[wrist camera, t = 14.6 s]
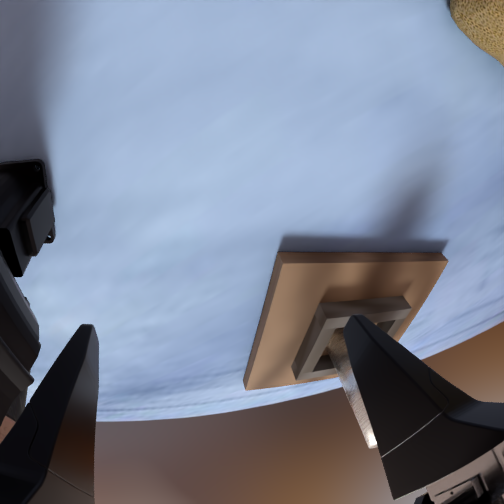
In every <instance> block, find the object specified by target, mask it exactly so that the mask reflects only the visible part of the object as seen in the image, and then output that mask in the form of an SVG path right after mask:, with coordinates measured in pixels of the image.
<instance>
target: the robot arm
mask: <svg viewBox="0 0 504 504" xmlns="http://www.w3.org/2000/svg"><path fill="white" fill-rule="evenodd" d="M35 165H38V166H39V168H40V169H39V170H38V169H37V168H36V167H35ZM54 222H55V217H54V212H53V205H52V199H51V192H50V190H49V189H48V188H47V181H46V173H45V165H44V162H43V161H42V160H40V159H34V160H22V161H12V162H3V163H0V427H1V425H2V422H3V420H4V418H5V416H6V413H7V411H8V409H9V407H10V406H11V404H12V402H13V401H14V400H15V398H16V397H17V396H18V395H19V394H20V393H21V391H23V390H24V389H26V388H27V387H28V386H30V385H31V384H32V383H33V382H34V378H33V377H32V376H31V375H30V374H29V371H30V369H31V367H32V366H33V364H34V362H35V360H36V359H37V357H38V354H39V351H40V348H41V344H40V342H39V325H38V323H37V320H36V318H35V315H34V314H33V312H32V310H31V308H30V303H29V302H28V300H27V298H26V297H24V295H23V293H22V292H21V290H20V288H19V286H18V284H17V282H16V280H15V278H14V277H22V276H23V274H24V272H25V270H26V268H27V266H28V264H29V261H30V259H31V257H32V256H37V254H38V253H39V251H40V249H41V247H42V245H43V243H52V242H53V241H54V239H55V230H54V225H53V224H54ZM47 235H49V236H51V238H50V237H48V236H47ZM343 335H344V339H345V343H346V347H347V351H348V356H349V360H350V364H351V368H352V371H353V374H354V377H355V380H356V383H357V385H358V388H359V391H360V394H361V397H362V400H363V403H364V406H365V409H366V412H367V415H368V418H369V421H370V424H371V427H372V430H373V433H374V437H375V440H376V443H377V446H378V449H379V453H380V455H381V457H382V458H381V459H382V462H383V466H384V469H385V473H386V476H387V480H388V483H389V486H390V490H391V493H392V497H393V499H394V500H396V499H398V498H401V497H403V496H406V495H408V494H410V493H413V492H415V491H417V490H419V489H422V488H424V487H426V489H427V492H426V493H425V494H423V495H421V496H420V497H418V498H416V500H415V503H414V504H504V403H493V402H481V401H478V400H475V399H474V398H472V397H470V396H469V395H467V394H466V393H464V392H463V391H461V390H460V389H458V388H456V387H455V386H454V385H452V384H451V383H450V382H448V381H447V380H445V379H444V378H442V377H441V376H440V375H439V374H437V373H436V372H435V371H434V370H432V369H431V368H430V367H428V366H427V365H426V364H425V363H424V362H422V361H421V360H420V359H419V358H417V357H416V356H415V355H414V354H412V353H411V352H410V351H408V350H407V349H406V348H405V347H403V346H402V345H401V344H400V343H398V342H397V341H396V340H395V339H393V338H392V337H391V336H389V335H388V334H387V333H386V332H384V331H383V330H382V329H381V328H379V327H378V326H377V325H375V324H374V323H373V322H372V321H370V320H369V319H368V318H366V317H365V316H364V315H362V314H353V315H351V316H350V318H349V320H348V321H347V323H346V325H345V327H344V330H343ZM98 390H99V341H98V337H97V334H96V331H95V328H94V326H93V325H92V324H82V325H80V327H79V328H78V329H77V331H76V332H75V334H74V335H73V336H72V338H71V339H70V341H69V342H68V343H67V345H66V346H65V348H64V349H63V350H62V352H61V353H60V355H59V356H58V358H57V359H56V361H55V362H54V364H53V365H52V367H51V368H50V370H49V371H48V373H47V374H46V376H45V377H44V379H43V380H42V382H41V383H40V385H39V386H38V388H37V390H36V391H35V393H34V394H33V396H32V397H31V399H30V403H28V404H27V405H26V407H25V409H24V410H23V412H22V413H21V415H20V417H19V418H18V420H17V421H16V423H15V424H14V426H13V427H12V428H11V430H10V431H9V433H8V434H7V435H6V437H5V438H4V439H3V441H2V442H1V443H0V504H95V502H94V448H95V427H96V413H97V401H98Z"/></svg>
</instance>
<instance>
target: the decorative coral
mask: <svg viewBox="0 0 504 504" xmlns="http://www.w3.org/2000/svg"><path fill="white" fill-rule="evenodd" d="M450 12H451V17H452V18H453V20H454V21H455V23H456V25H457V26H458V28H459V29H460V30H461V31H462V32H463V33H464V34H465V35H466V36H467V37H468V38H469V39H470V40H471V41H472V42H473V43H474V44H475V45H477V46H478V47H479V48H480V49H482V50H483V51H485V52H486V53H488V54H489V55H491V56H492V57H494V58H495V59H497V60H498V61H499V62H500V63H501V64H502V65H503V66H504V0H450Z"/></svg>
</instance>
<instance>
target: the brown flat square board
mask: <svg viewBox="0 0 504 504" xmlns="http://www.w3.org/2000/svg"><path fill="white" fill-rule="evenodd" d="M447 263H448V260H447V259H446V258H445V256H444V255H443V254H442V253H388V252H278V253H277V257H276V261H275V265H274V268H273V272H272V276H271V280H270V284H269V288H268V291H267V295H266V299H265V303H264V306H263V310H262V314H261V317H260V321H259V325H258V329H257V332H256V336H255V340H254V343H253V347H252V350H251V354H250V358H249V361H248V365H247V368H246V372H245V375H244V379H243V382H244V387H245V391H246V390H255V389H264V388H272V387H280V386H287V385H294V384H300V383H307V382H313V381H319V380H324V379H330V378H335V377H339V376H338V374H337V372H336V370H335V367H334V365H333V363H332V360H331V358H330V356H329V354H328V351H327V349H326V346H327V344H328V342H329V340H330V338H331V336H332V334H333V333H334V331H335V329H336V328H341V327H345V325H346V323H347V321H348V320H349V318H350V316H351V315H353V314H362V315H364V316H365V317H366V318H368V319H369V320H370V321H372V322H373V323H374V324H375V325H377V326H378V327H379V328H381V329H382V330H383V331H384V332H386V333H387V334H388V335H389V336H391V337H392V338H393V339H395V340H396V341H397V342H398V341H399V339H400V338H401V336H402V335H403V334H404V332H405V331H406V329H407V328H408V326H409V325H410V323H411V322H412V320H413V319H414V317H415V316H416V314H417V313H418V311H419V310H420V308H421V307H422V305H423V303H424V302H425V300H426V299H427V297H428V295H429V294H430V292H431V290H432V289H433V287H434V285H435V284H436V282H437V280H438V279H439V277H440V275H441V273H442V272H443V270H444V268H445V266H446V265H447Z"/></svg>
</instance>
